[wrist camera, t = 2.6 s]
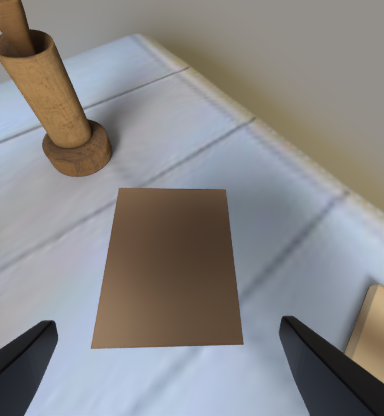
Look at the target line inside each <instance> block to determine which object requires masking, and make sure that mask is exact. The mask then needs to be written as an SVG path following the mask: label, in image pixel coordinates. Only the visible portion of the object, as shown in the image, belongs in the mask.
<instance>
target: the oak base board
mask: <svg viewBox="0 0 384 416" xmlns="http://www.w3.org/2000/svg"><path fill="white" fill-rule="evenodd" d="M344 354H345V355H346V356H348V357H349V358H351V359H352V360H353V361H355V362H356V363H357V364H359V365H360V366H361V367H363V368H364V369H365V370H367V371H368V372H369V373H371V374H372V375H373V376H375V377H376V378H377V379H379V380H380V381H381V382H383V383H384V287H383V286H381V285H380V284H376V285H372V286H370V287H369V289H368V292H367V295H366V297H365V300H364V303H363V305H362V308H361V310H360V313H359V316H358V318H357V321H356V324H355V326H354V329H353V332H352V334H351V337H350V340H349V342H348V345H347V348H346V350H345V353H344Z"/></svg>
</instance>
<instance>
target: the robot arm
mask: <svg viewBox="0 0 384 416" xmlns="http://www.w3.org/2000/svg"><path fill="white" fill-rule="evenodd" d="M279 336H280V340H281V342H282V345H283V348H284V351H285V354H286V357H287V360H288V363H289V366H290V369H291V372H292V374H293V377H294V380H295V382H296V385H297V387H298V389H299V391H300V394H301V396H302V398H303V400H304V403H305V405H306V407H307V409H308V412H309V414H310V416H384V383H383V382H381V381H380V380H379V379H377V378H376V377H375V376H373V375H372V374H371V373H369V372H368V371H367V370H365V369H364V368H363V367H361V366H360V365H359V364H357V363H356V362H355V361H353V360H352V359H351V358H349V357H348V356H346V355H345V354H344V353H342V352H341V351H340V350H338V349H337V348H336V347H334V346H333V345H332V344H330V343H329V342H328V341H326V340H325V339H324V338H322V337H321V336H320V335H318V334H317V333H315V332H314V331H313V330H311V329H310V328H309V327H307V326H306V325H305V324H303V323H302V322H301V321H299V320H298V319H297V318H295V317H294V316H283V317H282V319H281V324H280V330H279ZM57 342H58V334H57V328H56V323H55V321H53V320H44V321H41V322H40V323H38V324H37V325H35V326H34V327H32V328H31V329H29V330H28V331H26V332H25V333H23V334H22V335H20V336H19V337H17V338H16V339H14V340H13V341H11V342H10V343H9V344H7V345H6V346H4V347H3V348H1V349H0V416H24V415H25V413H26V411H27V409H28V407H29V405H30V403H31V401H32V399H33V397H34V395H35V393H36V391H37V389H38V387H39V385H40V383H41V380H42V378H43V376H44V373H45V371H46V369H47V366H48V364H49V361H50V359H51V357H52V354H53V352H54V350H55V347H56V345H57Z"/></svg>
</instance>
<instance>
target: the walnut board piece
mask: <svg viewBox="0 0 384 416" xmlns="http://www.w3.org/2000/svg"><path fill="white" fill-rule="evenodd" d="M209 345H244V344H243V335H242V327H241V318H240V309H239V301H238V292H237V283H236V275H235V266H234V257H233V249H232V240H231V231H230V223H229V214H228V205H227V197H226V190H218V189H156V188H119V191H118V197H117V203H116V208H115V214H114V220H113V226H112V231H111V237H110V243H109V248H108V254H107V260H106V265H105V271H104V277H103V282H102V288H101V294H100V299H99V305H98V311H97V316H96V322H95V328H94V333H93V339H92V345H91V349H101V348H137V347H173V346H209Z"/></svg>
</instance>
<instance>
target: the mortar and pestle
mask: <svg viewBox="0 0 384 416" xmlns="http://www.w3.org/2000/svg"><path fill="white" fill-rule="evenodd" d="M0 31H1V32H2V33H3V34H1V35H0V62H1V64H2V65H3V67H4V68H5V70H6V71H7V73H8V74H9V75H10V77H11V78H12V80H13V81H14V83H15V84H16V86H17V87H18V89H19V90H20V92H21V93H22V95H23V96H24V98H25V100H26V101H27V103H28V104H29V106H30V107H31V109H32V110H33V112H34V113H35V115H36V116H37V118H38V119H39V121H40V123H41V124H42V126H43V127H44V129H45V130H46V132H47V134H46V135H45V137H44V139H43V143H42V147H43V151H44V153H45V155H46V156H47V157H48V159H49V160H50V161H51V163H52V164H53V166H54V167H55V168H56V169H57V170H58V171H59V172H61V173H62V174H65V175H68V176H75V177H79V176H87V175H90V174H93V173H95V172H97V171H98V170H100V169H101V168H103V167H104V166H105V165H106V164H107V162H108V161H109V159H110V157H111V154H112V147H111V144H110V141H109V138H108V136H107V133H106V131H105V129H104V128H103V127H102V126H101V125H100V124H99V123H97V122H95V121H92V120H89V119H87V118H86V116H85V113H84V111H83V109H82V106H81V104H80V102H79V99H78V97H77V95H76V92H75V90H74V88H73V85H72V83H71V81H70V78H69V76H68V74H67V71H66V69H65V67H64V64H63V62H62V60H61V58H60V55H59V53H58V50H57V48H56V46H55V43H54V41H53V39H52V37H51V36H49V35H48V34H46V33H44V32H42V31H38V30H31V29H29V26H28V23H27V19H26V15H25V11H24V8H23V5H22V2H21V0H0Z"/></svg>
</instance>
